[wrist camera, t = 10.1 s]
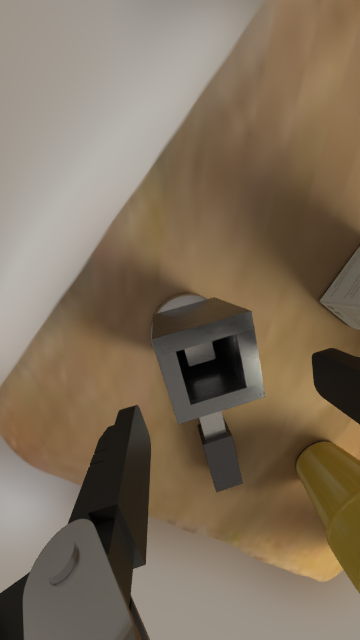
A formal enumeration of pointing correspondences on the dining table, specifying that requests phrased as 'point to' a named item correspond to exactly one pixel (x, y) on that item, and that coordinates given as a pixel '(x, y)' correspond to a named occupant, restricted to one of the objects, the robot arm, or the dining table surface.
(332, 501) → the plant pot
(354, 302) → the skincare box
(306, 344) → the dining table surface
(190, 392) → the square hollow tube
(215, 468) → the ratchet
